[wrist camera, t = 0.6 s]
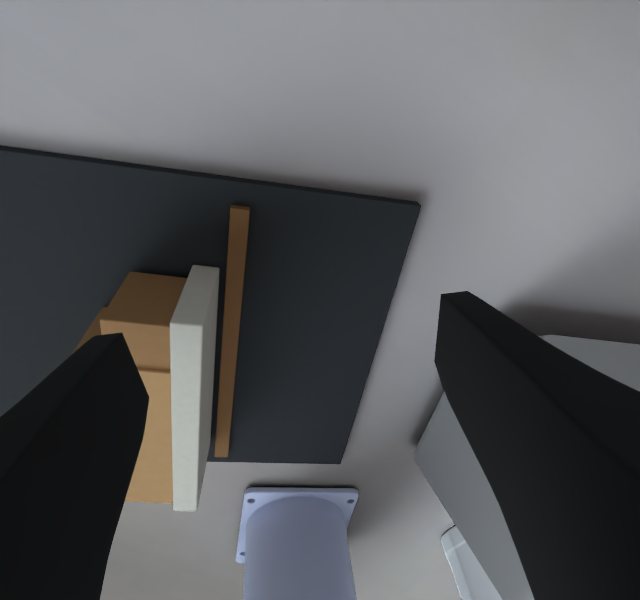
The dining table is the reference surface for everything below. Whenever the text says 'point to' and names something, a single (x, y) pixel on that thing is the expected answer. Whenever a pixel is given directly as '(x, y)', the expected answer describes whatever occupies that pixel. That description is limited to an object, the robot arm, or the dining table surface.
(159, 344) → the cardboard stepped box
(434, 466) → the tank
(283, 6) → the dining table surface
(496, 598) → the jar
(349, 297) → the shoe mat
